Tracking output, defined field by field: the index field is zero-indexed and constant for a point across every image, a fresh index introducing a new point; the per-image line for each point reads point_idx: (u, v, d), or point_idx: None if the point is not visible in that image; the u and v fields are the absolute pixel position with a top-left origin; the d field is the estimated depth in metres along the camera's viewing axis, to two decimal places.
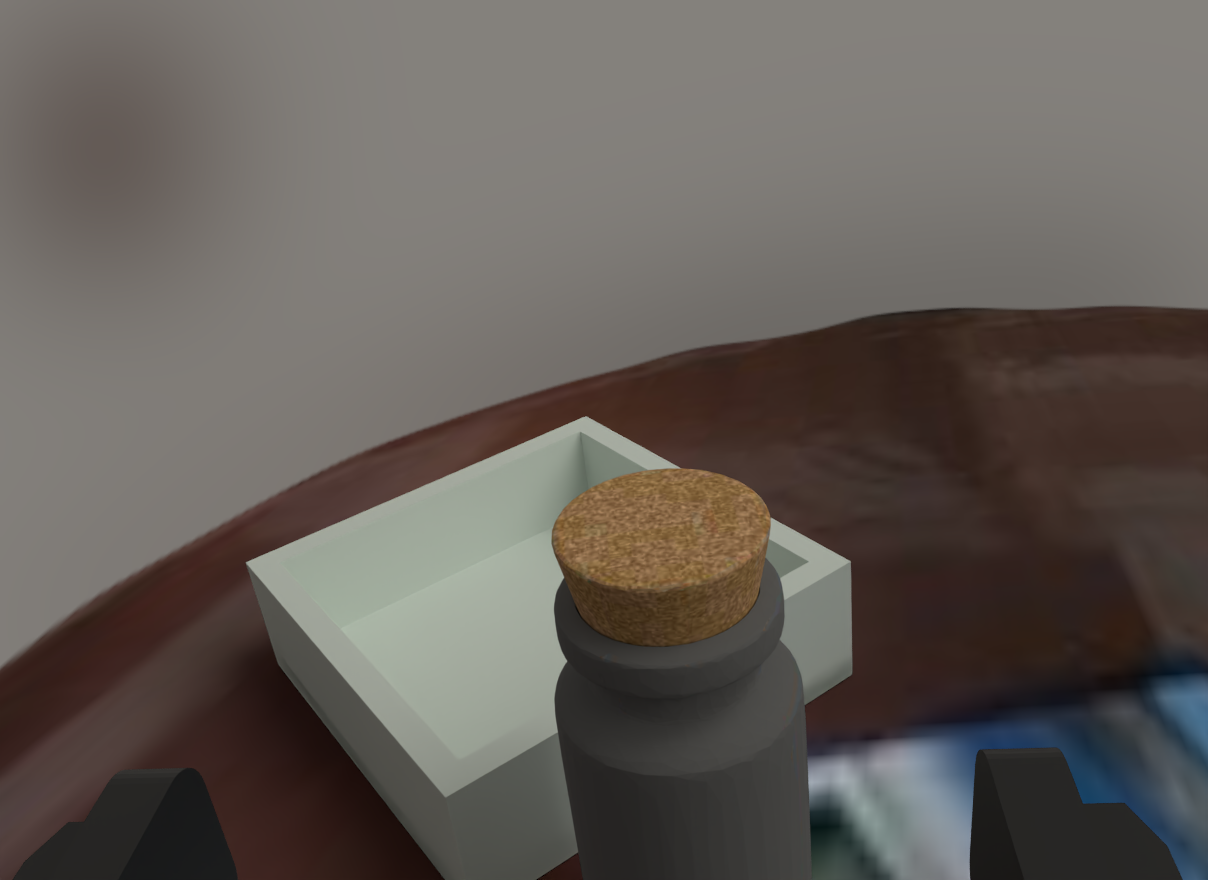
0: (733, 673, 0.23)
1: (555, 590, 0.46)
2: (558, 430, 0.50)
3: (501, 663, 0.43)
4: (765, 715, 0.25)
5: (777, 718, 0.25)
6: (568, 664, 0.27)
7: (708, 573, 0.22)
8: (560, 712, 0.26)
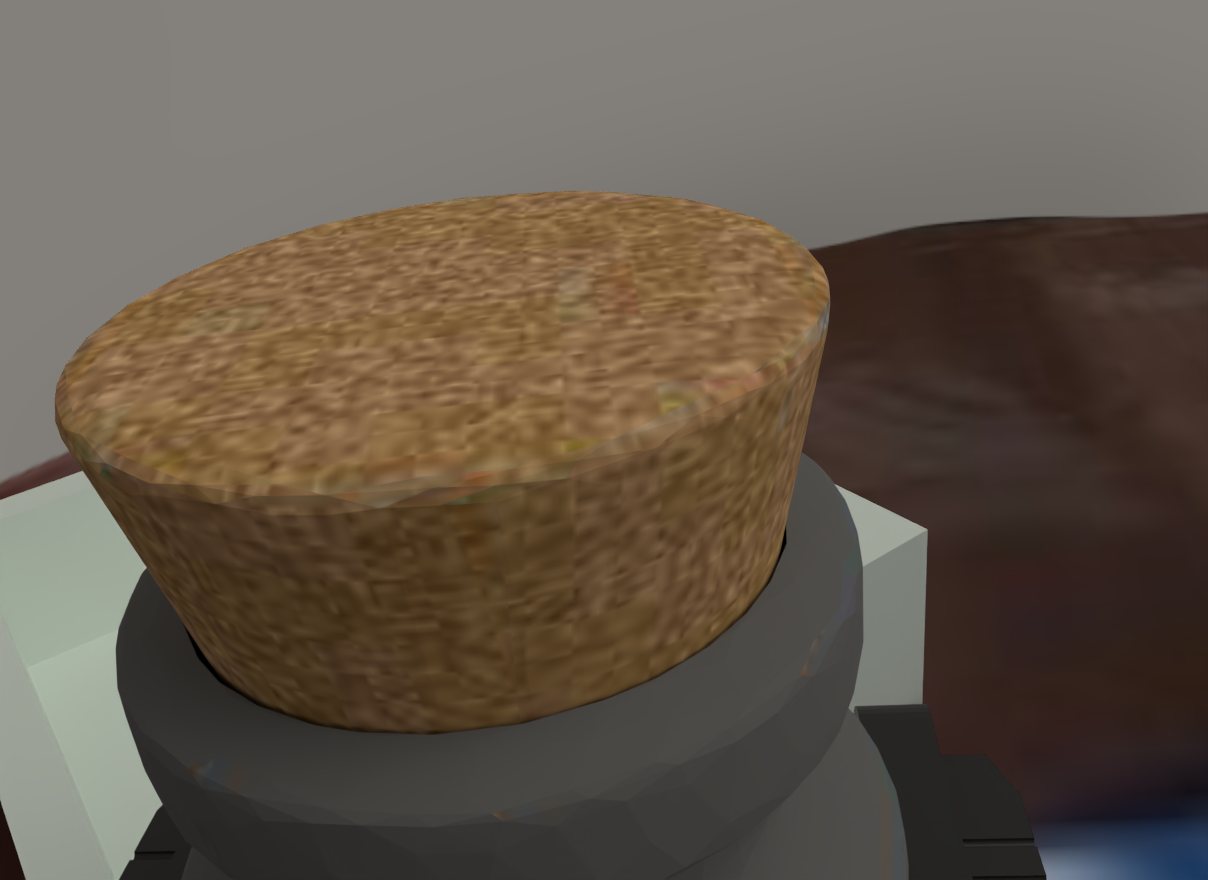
0: (689, 837, 0.06)
1: None
2: None
3: None
4: None
5: None
6: None
7: (580, 433, 0.05)
8: None
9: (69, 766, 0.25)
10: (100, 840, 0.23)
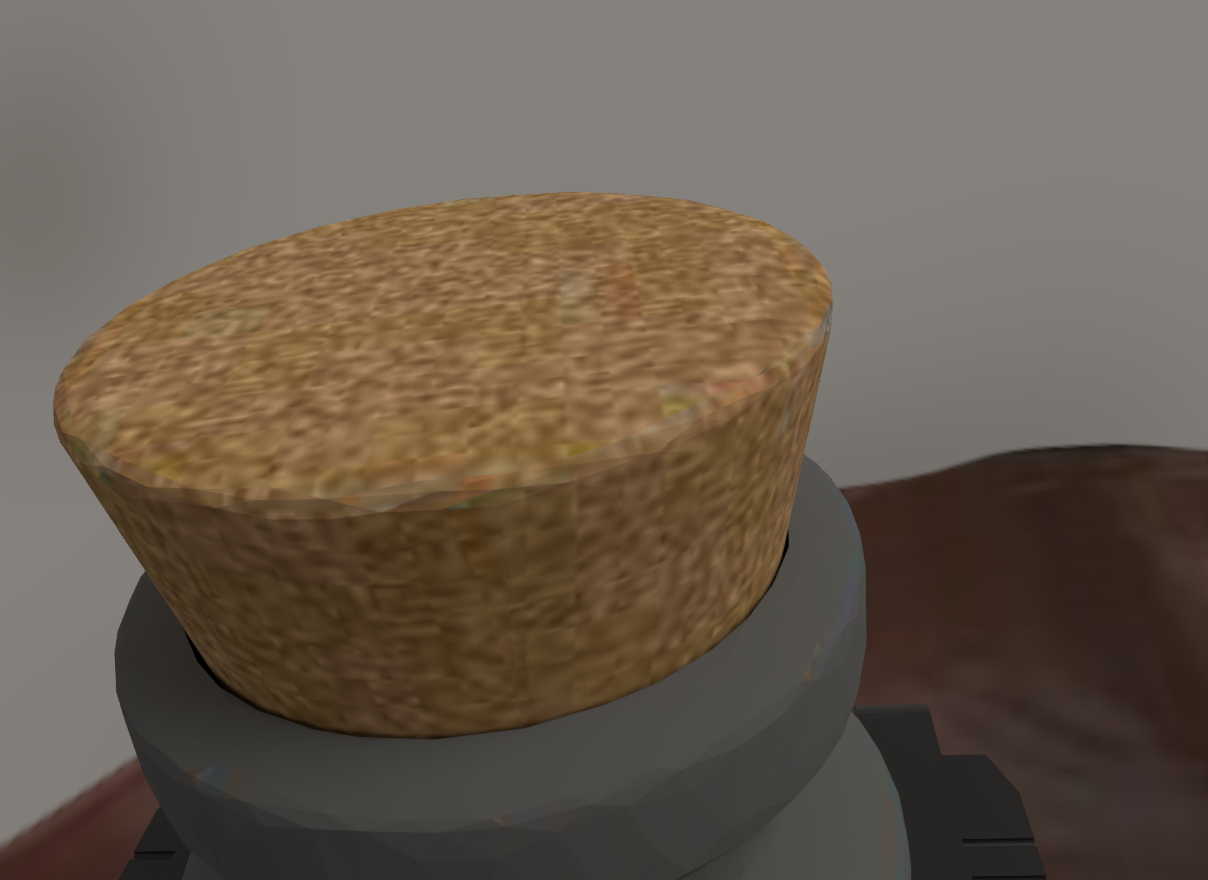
0: (691, 842, 0.06)
1: None
2: None
3: None
4: None
5: None
6: None
7: (582, 437, 0.05)
8: None
9: None
10: None
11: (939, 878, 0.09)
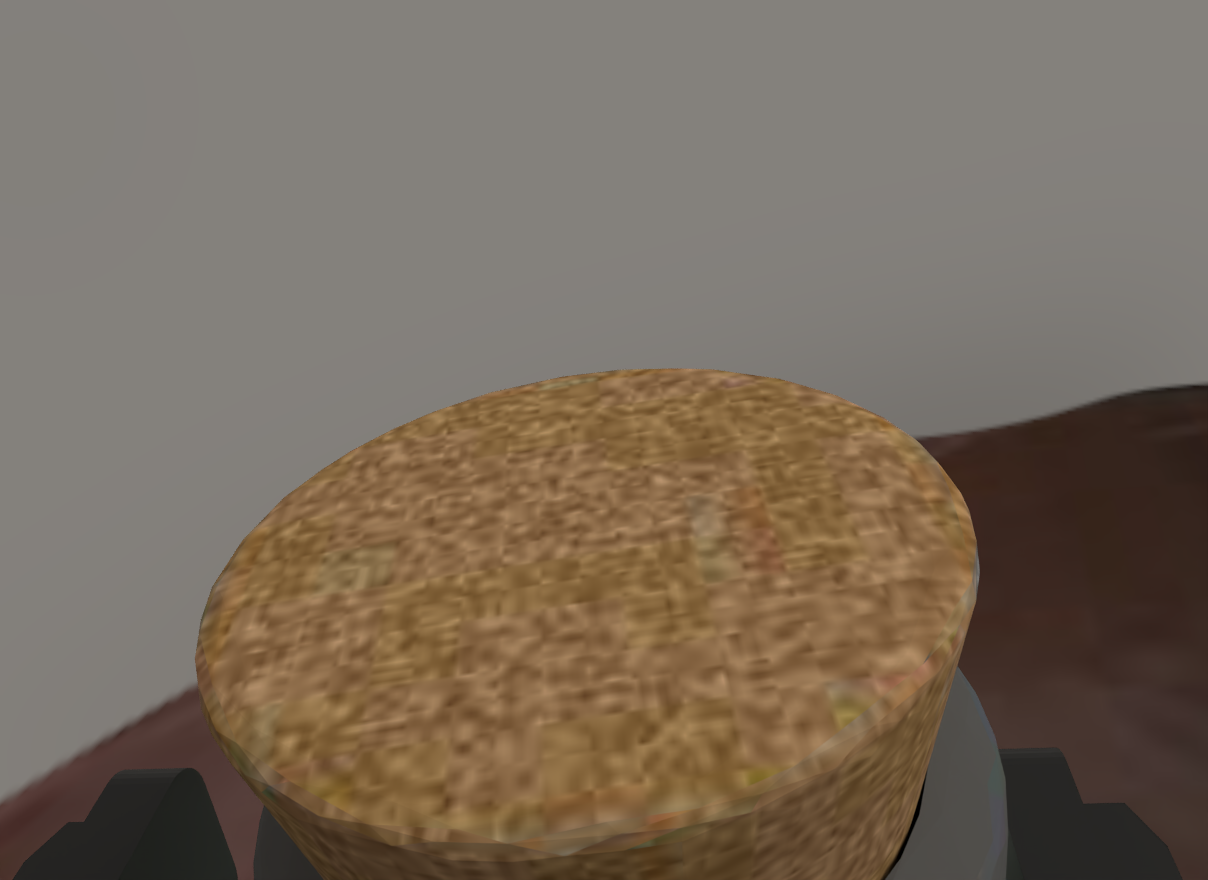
0: None
1: None
2: None
3: None
4: None
5: None
6: None
7: (760, 761, 0.05)
8: None
9: None
10: None
11: None
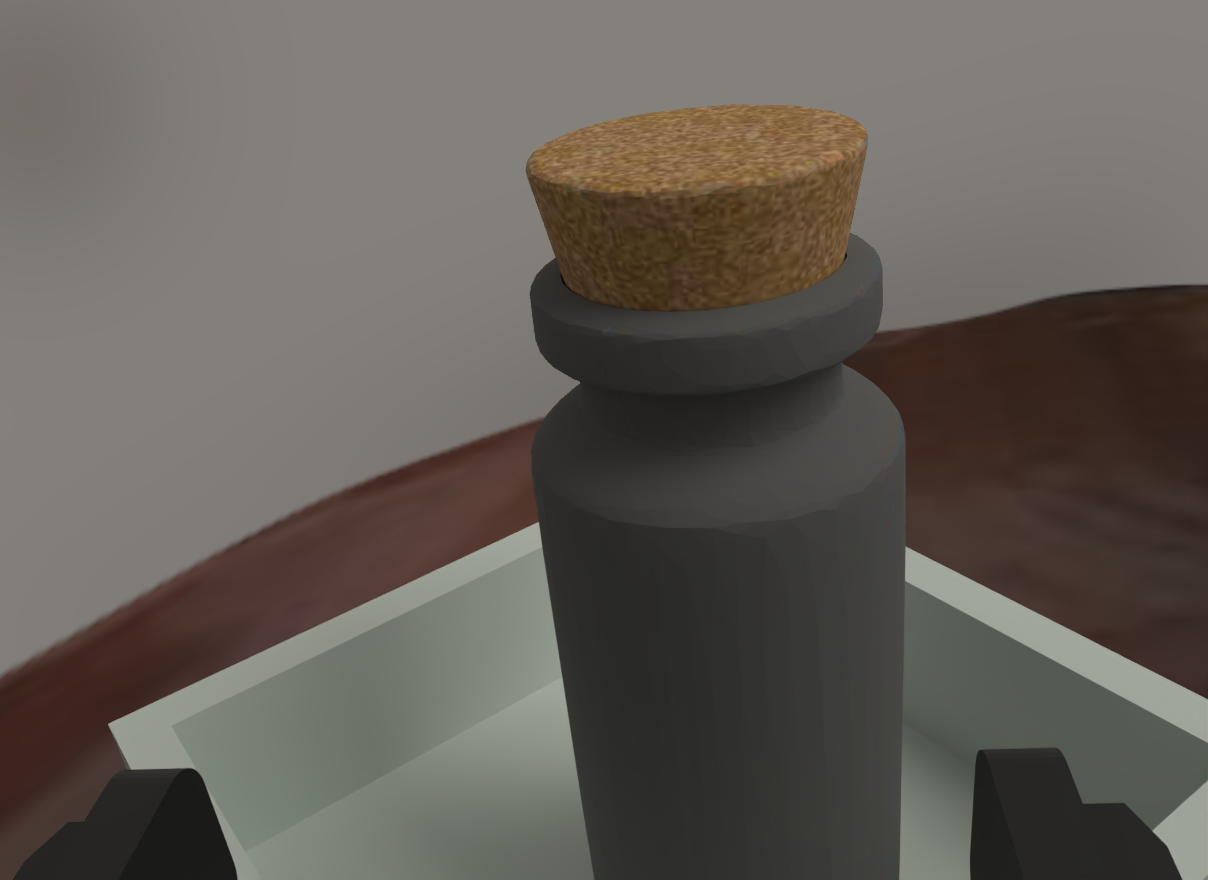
0: (811, 355, 0.15)
1: None
2: None
3: None
4: (855, 447, 0.16)
5: (871, 455, 0.16)
6: (553, 408, 0.18)
7: (777, 170, 0.14)
8: (539, 461, 0.17)
9: None
10: None
11: None
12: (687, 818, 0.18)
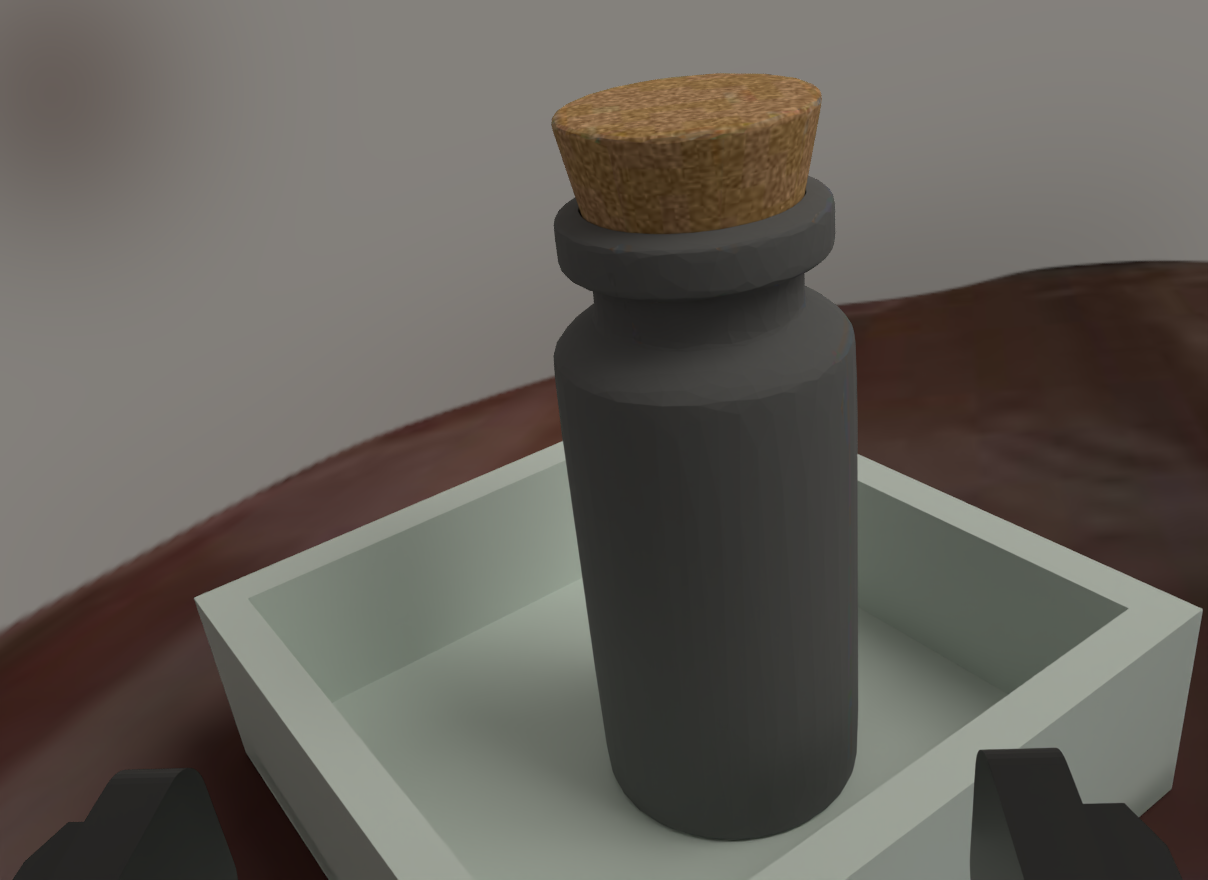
0: (775, 268, 0.19)
1: None
2: None
3: (598, 762, 0.27)
4: (812, 346, 0.20)
5: (825, 353, 0.20)
6: (571, 323, 0.23)
7: (746, 121, 0.18)
8: (560, 361, 0.21)
9: None
10: None
11: None
12: (680, 652, 0.22)
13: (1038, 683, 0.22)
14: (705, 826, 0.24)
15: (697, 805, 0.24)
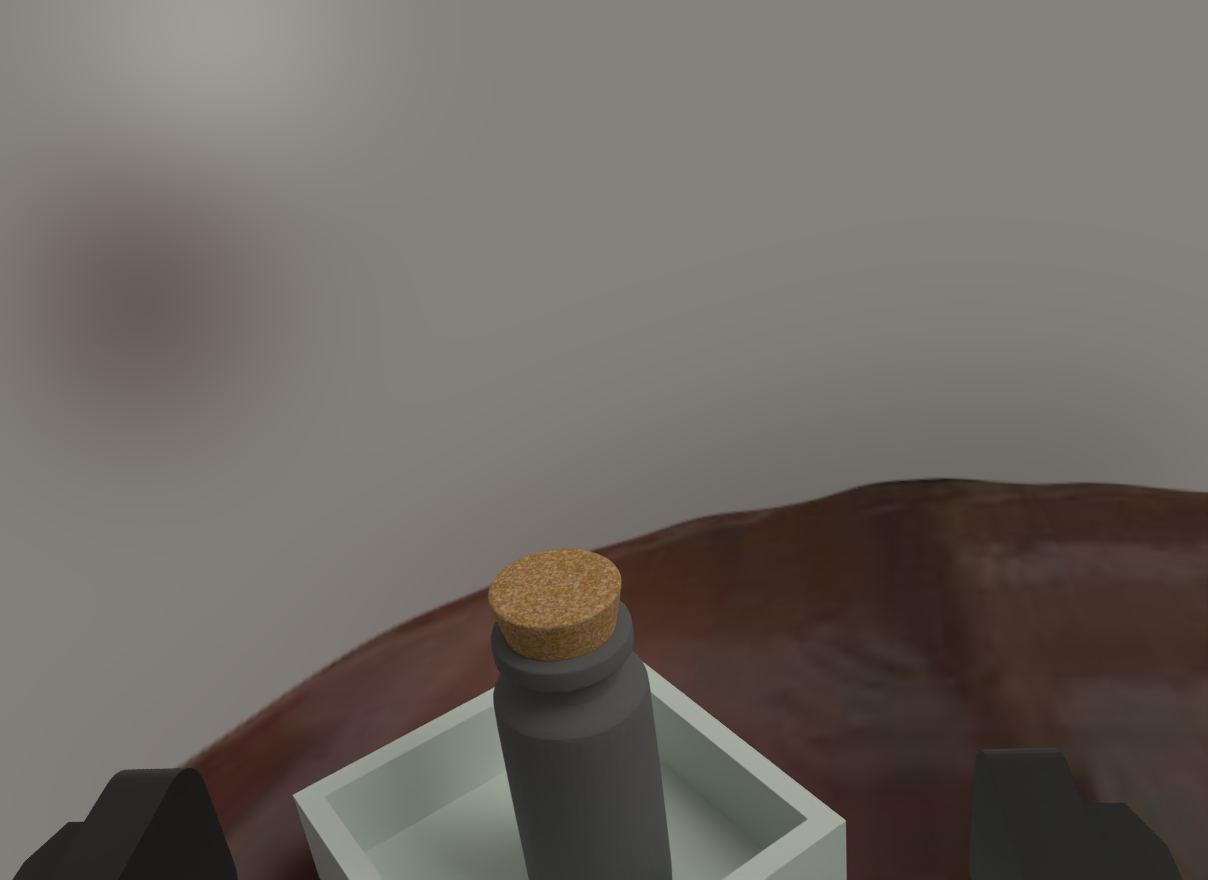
0: (595, 677, 0.39)
1: None
2: None
3: None
4: (619, 704, 0.40)
5: (627, 706, 0.40)
6: None
7: (577, 618, 0.38)
8: (495, 701, 0.41)
9: None
10: None
11: None
12: (559, 848, 0.42)
13: (747, 866, 0.42)
14: None
15: None
